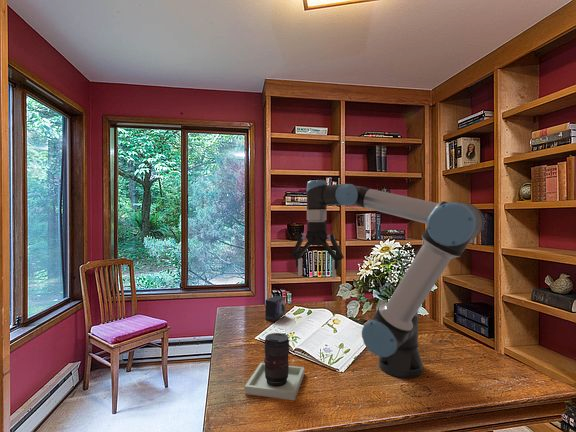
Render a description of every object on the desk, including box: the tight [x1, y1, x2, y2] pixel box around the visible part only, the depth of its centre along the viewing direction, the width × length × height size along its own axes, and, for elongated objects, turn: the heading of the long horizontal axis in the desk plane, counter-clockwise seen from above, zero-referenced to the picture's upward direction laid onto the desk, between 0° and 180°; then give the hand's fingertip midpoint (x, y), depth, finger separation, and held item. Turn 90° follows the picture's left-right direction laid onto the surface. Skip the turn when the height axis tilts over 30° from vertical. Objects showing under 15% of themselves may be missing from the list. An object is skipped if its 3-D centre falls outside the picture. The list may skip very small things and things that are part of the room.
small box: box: [264, 295, 286, 322], centre depth 172 cm, size 11×6×10 cm, turn 149°
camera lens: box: [263, 332, 290, 387], centre depth 108 cm, size 8×8×15 cm
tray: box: [244, 362, 305, 401], centre depth 108 cm, size 16×16×2 cm
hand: (316, 276), depth 125 cm, fingers open, 13 cm apart
